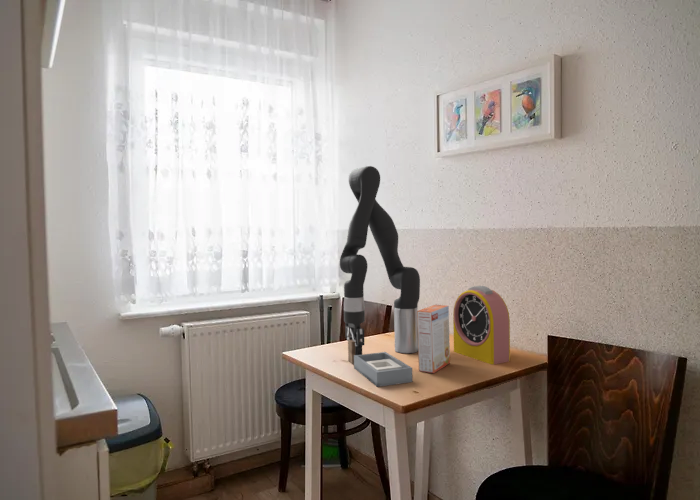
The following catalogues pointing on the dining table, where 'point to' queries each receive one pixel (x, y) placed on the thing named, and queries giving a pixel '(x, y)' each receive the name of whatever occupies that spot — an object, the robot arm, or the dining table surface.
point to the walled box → (382, 369)
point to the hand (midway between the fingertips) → (354, 353)
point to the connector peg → (351, 351)
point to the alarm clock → (482, 326)
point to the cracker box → (433, 338)
